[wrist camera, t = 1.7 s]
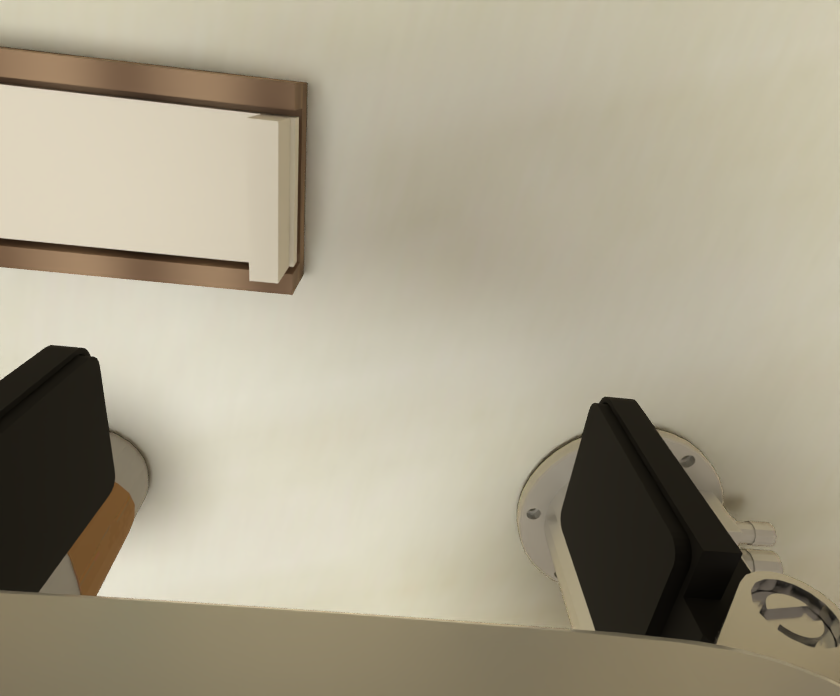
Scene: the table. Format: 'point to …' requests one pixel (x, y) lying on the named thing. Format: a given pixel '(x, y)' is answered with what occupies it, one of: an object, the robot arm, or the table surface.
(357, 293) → the table surface
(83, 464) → the robot arm
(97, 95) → the lid
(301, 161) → the board
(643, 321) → the table surface
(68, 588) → the coffee cup
